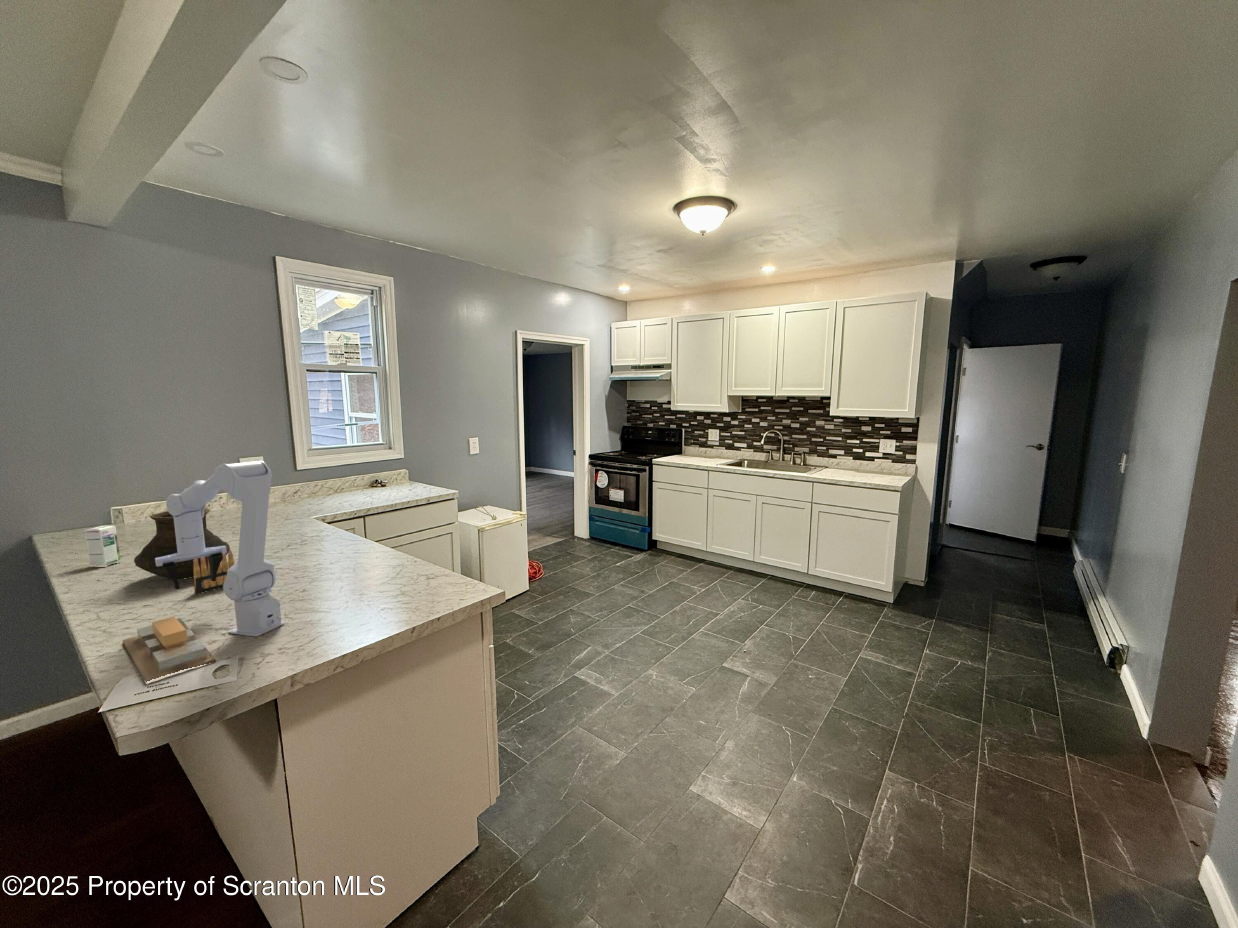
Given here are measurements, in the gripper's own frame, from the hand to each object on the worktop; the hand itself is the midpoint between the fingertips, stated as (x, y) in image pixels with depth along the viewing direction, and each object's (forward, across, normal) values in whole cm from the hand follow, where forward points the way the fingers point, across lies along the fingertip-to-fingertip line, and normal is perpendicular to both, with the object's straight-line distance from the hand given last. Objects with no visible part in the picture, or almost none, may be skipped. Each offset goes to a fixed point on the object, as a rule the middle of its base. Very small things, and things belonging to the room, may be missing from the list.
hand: (195, 584), depth 133 cm
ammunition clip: (+10, -9, -24) cm, 27 cm away
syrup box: (+10, +10, -88) cm, 89 cm away
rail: (+9, +9, +19) cm, 23 cm away
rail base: (+9, +9, +19) cm, 23 cm away
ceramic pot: (+10, -6, -48) cm, 49 cm away
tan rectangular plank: (+9, +9, +19) cm, 23 cm away
